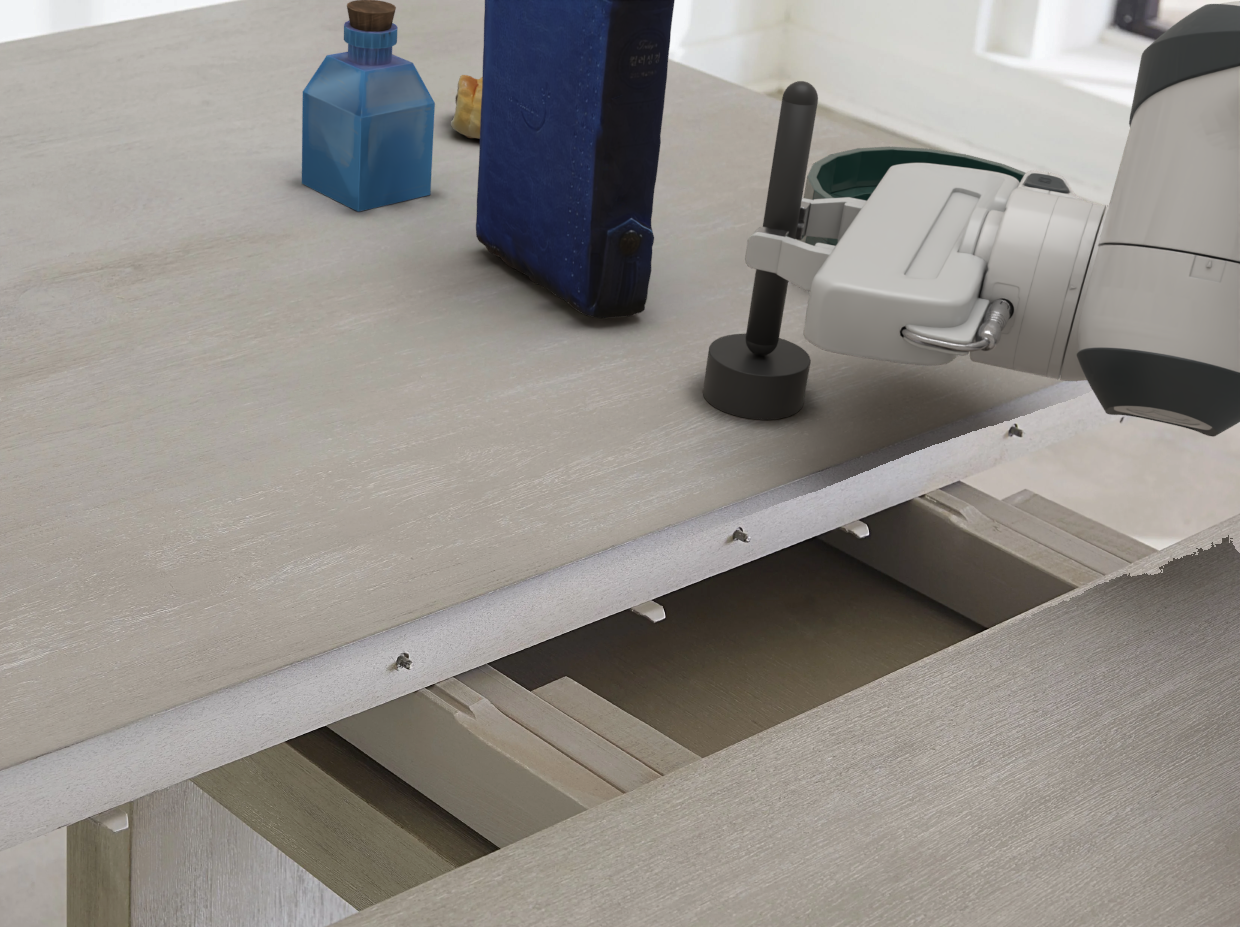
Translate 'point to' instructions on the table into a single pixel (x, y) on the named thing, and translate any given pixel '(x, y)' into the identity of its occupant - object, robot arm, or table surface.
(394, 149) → the perfume bottle
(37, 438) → the table surface
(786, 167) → the black stand
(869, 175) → the bowl
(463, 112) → the pastry
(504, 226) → the book
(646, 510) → the table surface
